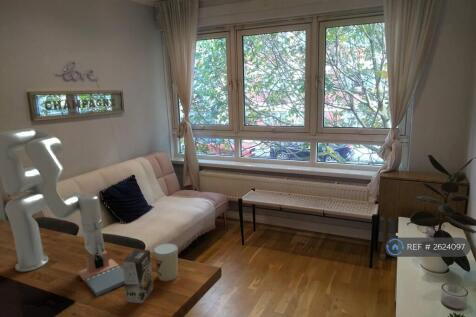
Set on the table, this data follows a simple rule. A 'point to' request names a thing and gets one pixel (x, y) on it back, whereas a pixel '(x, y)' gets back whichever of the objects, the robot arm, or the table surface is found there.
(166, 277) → the coffee cup
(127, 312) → the table surface
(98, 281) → the light blue box
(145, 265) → the coffee box
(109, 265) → the pink stepped block
